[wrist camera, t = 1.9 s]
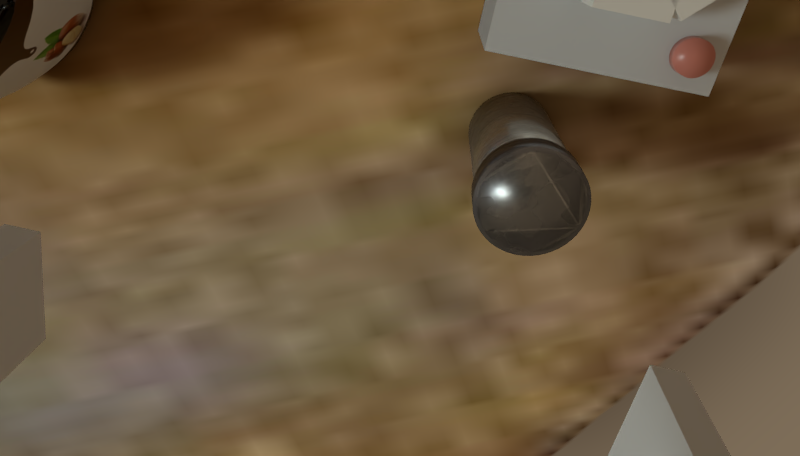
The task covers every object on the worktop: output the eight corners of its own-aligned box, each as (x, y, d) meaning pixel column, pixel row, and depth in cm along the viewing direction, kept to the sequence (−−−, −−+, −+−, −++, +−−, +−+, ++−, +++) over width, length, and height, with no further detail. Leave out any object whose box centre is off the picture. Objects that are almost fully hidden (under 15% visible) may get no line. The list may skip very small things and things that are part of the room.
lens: (477, 81, 33) (488, 137, 24) (564, 99, 34) (607, 161, 25) (457, 164, 36) (461, 243, 27) (539, 180, 36) (570, 265, 27)
